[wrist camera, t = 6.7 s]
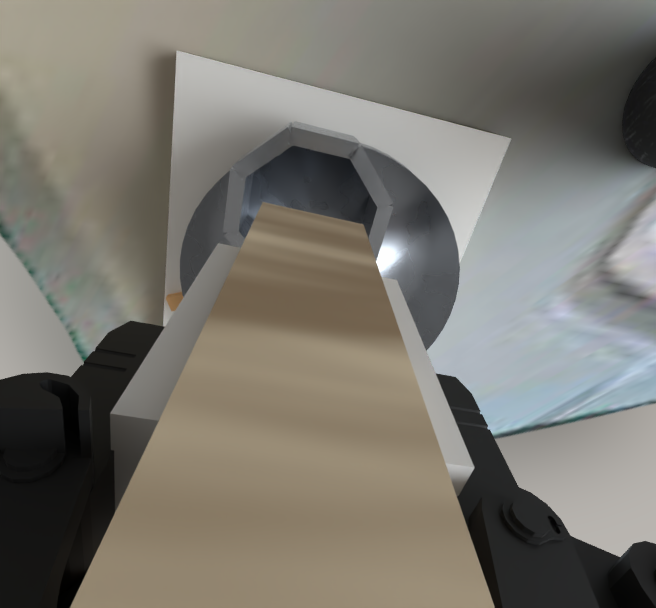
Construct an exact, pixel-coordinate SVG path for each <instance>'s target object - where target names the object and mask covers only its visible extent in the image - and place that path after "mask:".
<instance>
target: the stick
mask: <svg viewBox="0 0 656 608" xmlns="http://www.w3.org/2000/svg"><path fill="white" fill-rule="evenodd" d="M70 608H495V607H494V604H493V601H492V598H491V595H490V592H489V589H488V586H487V583H486V580H485V577H484V574H483V572H482V569H481V566H480V563H479V560H478V557H477V554H476V551H475V548H474V545H473V542H472V539H471V537H470V534H469V531H468V528H467V525H466V522H465V519H464V516H463V513H462V510H461V507H460V504H459V502H458V499H457V496H456V493H455V490H454V487H453V484H452V481H451V478H450V475H449V472H448V469H447V467H446V464H445V461H444V458H443V455H442V452H441V449H440V446H439V443H438V440H437V437H436V435H435V432H434V429H433V426H432V423H431V420H430V417H429V414H428V411H427V408H426V405H425V402H424V400H423V397H422V394H421V391H420V388H419V385H418V382H417V379H416V376H415V373H414V370H413V367H412V365H411V362H410V359H409V356H408V353H407V350H406V347H405V344H404V341H403V338H402V335H401V332H400V330H399V327H398V324H397V321H396V318H395V315H394V312H393V309H392V306H391V303H390V300H389V297H388V295H387V292H386V289H385V286H384V283H383V280H382V277H381V274H380V271H379V268H378V265H377V262H376V260H375V257H374V254H373V251H372V248H371V245H370V242H369V239H368V236H367V233H366V230H365V227H364V225H363V224H359V223H355V222H350V221H346V220H341V219H337V218H332V217H328V216H323V215H319V214H314V213H310V212H305V211H301V210H296V209H292V208H287V207H283V206H278V205H274V204H270V203H265V202H262V205H261V207H260V209H259V211H258V213H257V215H256V217H255V219H254V221H253V224H252V226H251V228H250V230H249V232H248V234H247V236H246V238H245V240H244V242H243V245H242V247H241V249H240V251H239V253H238V255H237V257H236V259H235V261H234V264H233V266H232V268H231V270H230V272H229V274H228V276H227V278H226V280H225V282H224V285H223V287H222V289H221V291H220V293H219V295H218V297H217V299H216V301H215V304H214V306H213V308H212V310H211V312H210V314H209V316H208V318H207V320H206V322H205V325H204V327H203V329H202V331H201V333H200V335H199V337H198V339H197V341H196V344H195V346H194V348H193V350H192V352H191V354H190V356H189V358H188V360H187V362H186V365H185V367H184V369H183V371H182V373H181V375H180V377H179V379H178V381H177V384H176V386H175V388H174V390H173V392H172V394H171V396H170V398H169V400H168V402H167V405H166V407H165V409H164V411H163V413H162V415H161V417H160V419H159V421H158V424H157V426H156V428H155V430H154V432H153V434H152V436H151V438H150V440H149V442H148V445H147V447H146V449H145V451H144V453H143V455H142V457H141V459H140V461H139V464H138V466H137V468H136V470H135V472H134V474H133V476H132V478H131V480H130V482H129V485H128V487H127V489H126V491H125V493H124V495H123V497H122V499H121V501H120V504H119V506H118V508H117V510H116V512H115V514H114V516H113V518H112V520H111V522H110V525H109V527H108V529H107V531H106V533H105V535H104V537H103V539H102V541H101V544H100V546H99V548H98V550H97V552H96V554H95V556H94V558H93V560H92V562H91V565H90V567H89V569H88V571H87V573H86V575H85V577H84V579H83V581H82V584H81V586H80V588H79V590H78V592H77V594H76V596H75V598H74V600H73V602H72V605H71V607H70Z"/></svg>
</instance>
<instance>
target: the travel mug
mask: <svg viewBox="0 0 656 608" xmlns="http://www.w3.org/2000/svg"><path fill="white" fill-rule="evenodd" d="M623 135H624V140H625V143H626V145H627V147H628V149H629V151H630V152H631V153H632V154H633V156H634V157H635V158H637V159H638V160H639V161H641V162H642V163H644V164H646V165H649V166H651V167H654V168H656V58H655V59H654V60H653V61H652V62H651V63H650V64H649V65H648V66H647V68H646V69H645V70H644V71H643V73H642V74H641V75H640V77H639V78H638V80H637V81H636V83H635V85H634V87H633V89H632V91H631V93H630V95H629V97H628V100H627V103H626V106H625V110H624V115H623Z"/></svg>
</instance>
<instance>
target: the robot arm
mask: <svg viewBox="0 0 656 608" xmlns="http://www.w3.org/2000/svg"><path fill="white" fill-rule="evenodd" d="M240 249H241V248H240V247H235V246H230V245H225V244H220V243H218V244H217V246H216V247H215V249H214V250H213V252H212V253H211V255H210V257H209V258H208V260H207V261H206V263H205V264H204V266H203V268H202V269H201V271H200V272H199V274H198V276H197V277H196V279H195V280H194V282H193V283H192V285H191V287H190V288H189V290H188V291H187V293H186V294H185V296H184V298H183V299H182V301H181V302H180V304H179V306H178V307H177V309H176V310H175V312H174V313H173V315H172V317H171V318H170V320H169V321H168V323H167V324H166V326H165V327H163V326H157V325H151V324H146V323H140V322H135V321H129V322H127V323H126V324H124V325H122V326H120V327H118V328H116V329H114V330H112V331H110V332H109V333H108V334H107V335H106V336H105V338H104V339H103V340H102V341H101V342H100V343H99V345H98V346H97V347H96V349H95V352H94V351H93V352H92V353H91V354H90V355H89V356H88V358H87V359H86V360H85V361H84V364H83V365H81V366H80V367H79V368H78V369H77V371H76V372H75V373H74V374H73V375H72V376H71V377H69V376H66V375H59V374H53V373H31V374H21V375H17V376H13V377H9V378H5V379H1V380H0V608H70V607H71V605H72V602H73V600H74V598H75V596H76V594H77V592H78V590H79V588H80V586H81V584H82V581H83V579H84V577H85V575H86V573H87V571H88V569H89V567H90V565H91V562H92V560H93V558H94V556H95V554H96V552H97V550H98V548H99V546H100V544H101V541H102V539H103V537H104V535H105V533H106V531H107V529H108V527H109V525H110V522H111V520H112V518H113V516H114V514H115V512H116V510H117V508H118V506H119V504H120V501H121V499H122V497H123V495H124V493H125V491H126V489H127V487H128V485H129V482H130V480H131V478H132V476H133V474H134V472H135V470H136V468H137V466H138V464H139V461H140V459H141V457H142V455H143V453H144V451H145V449H146V447H147V445H148V442H149V440H150V438H151V436H152V434H153V432H154V430H155V428H156V426H157V424H158V421H159V419H160V417H161V415H162V413H163V411H164V409H165V407H166V405H167V402H168V400H169V398H170V396H171V394H172V392H173V390H174V388H175V386H176V384H177V381H178V379H179V377H180V375H181V373H182V371H183V369H184V367H185V365H186V362H187V360H188V358H189V356H190V354H191V352H192V350H193V348H194V346H195V344H196V341H197V339H198V337H199V335H200V333H201V331H202V329H203V327H204V325H205V322H206V320H207V318H208V316H209V314H210V312H211V310H212V308H213V306H214V304H215V301H216V299H217V297H218V295H219V293H220V291H221V289H222V287H223V285H224V282H225V280H226V278H227V276H228V274H229V272H230V270H231V268H232V266H233V264H234V261H235V259H236V257H237V255H238V253H239V251H240ZM382 280H383V283H384V286H385V289H386V292H387V295H388V297H389V300H390V303H391V306H392V309H393V312H394V315H395V318H396V321H397V324H398V327H399V330H400V332H401V335H402V338H403V341H404V344H405V347H406V350H407V353H408V356H409V359H410V362H411V365H412V367H413V370H414V373H415V376H416V379H417V382H418V385H419V388H420V391H421V394H422V397H423V400H424V402H425V405H426V408H427V411H428V414H429V417H430V420H431V423H432V426H433V429H434V432H435V435H436V437H437V440H438V443H439V446H440V449H441V452H442V455H443V458H444V461H445V464H446V467H447V469H448V472H449V475H450V478H451V481H452V484H453V487H454V490H455V493H456V496H457V499H458V502H459V504H460V507H461V510H462V513H463V516H464V519H465V522H466V525H467V528H468V531H469V534H470V537H471V539H472V542H473V545H474V548H475V551H476V554H477V557H478V560H479V563H480V566H481V569H482V572H483V574H484V577H485V580H486V583H487V586H488V589H489V592H490V595H491V598H492V601H493V604H494V607H495V608H656V544H654V543H650V542H647V541H643V542H639V543H634V544H633V545H632V546H631V547H630V548H629V549H628V550H627V551H626V552H625V553H624V554H623V555H622V556H621V557H618V556H616V555H613V554H611V553H609V552H606V551H604V550H602V549H599V548H597V547H595V546H592V545H590V544H587V543H585V542H583V541H581V540H578V539H576V538H574V537H572V536H570V534H569V533H568V531H567V529H566V528H565V526H564V524H563V522H562V520H561V519H560V518H559V517H558V516H557V515H556V514H555V512H554V511H553V510H552V509H551V508H550V507H549V506H548V505H547V504H546V503H544V502H543V501H542V500H540V499H539V498H538V497H536V496H535V495H533V494H532V493H531V492H528V491H526V490H524V489H521V488H519V487H518V485H517V483H516V481H515V479H514V477H513V475H512V473H511V471H510V470H509V467H508V465H507V463H506V461H505V459H504V457H503V455H502V453H501V451H500V449H499V447H498V445H497V443H496V441H495V439H494V437H493V435H492V433H491V431H490V430H488V429H487V427H488V425H487V423H486V421H485V419H484V417H483V415H481V414H480V410H479V408H478V406H477V404H476V402H475V400H474V398H473V396H472V394H471V393H470V392H469V390H468V389H467V388H466V387H465V386H464V385H463V384H462V383H461V382H460V381H459V380H458V379H457V378H456V377H452V376H447V375H441V374H436V373H435V371H434V368H433V366H432V364H431V361H430V359H429V356H428V354H427V352H426V349H425V347H424V344H423V342H422V340H421V337H420V335H419V332H418V330H417V327H416V325H415V323H414V320H413V318H412V315H411V313H410V311H409V308H408V306H407V303H406V301H405V298H404V296H403V294H402V291H401V289H400V286H399V284H398V282H397V280H394V279H390V278H385V277H382Z"/></svg>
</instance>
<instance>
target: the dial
mask: <svg viewBox="0 0 656 608" xmlns="http://www.w3.org/2000/svg"><path fill="white" fill-rule="evenodd" d="M262 202H265V203H270V204H274V205H278V206H283V207H287V208H292V209H296V210H301V211H305V212H310V213H314V214H319V215H323V216H328V217H332V218H337V219H341V220H346V221H350V222H355V223H359V224H363V225H364V227H365V230H366V233H367V236H368V239H369V242H370V245H371V248H372V251H373V254H374V257H375V260H376V262H377V265H378V268H379V271H380V274H381V277H385V278H390V279H394V280H397V282H398V284H399V286H400V289H401V291H402V294H403V296H404V298H405V301H406V303H407V306H408V308H409V311H410V313H411V315H412V318H413V320H414V323H415V325H416V327H417V330H418V332H419V335H420V337H421V340H422V342H423V344H424V347H425V349H426V351H427V349H428V348H429V347H430V346H431V345H432V344H433V343H434V341H435V340H436V338H437V337H438V335H439V334H440V332H441V331H442V330H443V328H444V326H445V324H446V322H447V320H448V318H449V316H450V314H451V311H452V308H453V305H454V302H455V299H456V295H457V290H458V285H459V271H460V264H459V253H458V247H457V243H456V238H455V234H454V231H453V229H452V226H451V224H450V221H449V219H448V216H447V215H446V213H445V211H444V210H443V208H442V206H441V204H440V203H439V201H438V200H437V198H436V197H435V196H434V195H433V194H432V192H431V191H430V190H429V189H428V187H427V186H426V185H425V184H424V183H423V182H422V181H421V180H419V179H418V178H417V177H416V176H415V175H414V174H413V173H412V172H411V171H410V170H409V169H408V168H406V167H405V166H404V165H403V164H401V163H400V162H398V161H397V160H395V159H394V158H393V157H391V156H390V155H388V154H386V153H384V152H382V151H380V150H378V149H376V148H374V147H371V146H368V145H365V144H362V143H359V141H358V140H357V138H355V137H354V136H352V135H348V134H344V133H340V132H336V131H332V130H328V129H324V128H320V127H316V126H312V125H308V124H304V123H300V122H296V121H294V123H292V122H290V123H289V124H287V125H286V126H284V127H283V128H282V129H280V130H279V131H277V132H276V133H274V134H273V135H272V136H270V137H269V138H267V139H266V140H264V141H263V142H262V143H260V144H259V145H257V146H256V147H254V148H253V149H252V150H250V151H249V152H247V153H246V154H244V155H243V156H242V157H241V158H240V159H239V160H238V161H237V162H236V163H235V164H233V165H232V168H231V169H230V170H229V171H228V172H227V173H226V174H225V175H224V176H223V177H222V178H221V179H220V180H219V181H218V182H217V183H216V184H215V185H214V186H213V187H212V188H211V189H210V190H209V192H208V193H207V194H206V195H205V196H204V198H203V199H202V201H201V202H200V204H199V205H198V207H197V208H196V210H195V212H194V214H193V216H192V218H191V220H190V222H189V224H188V227H187V230H186V233H185V236H184V240H183V243H182V249H181V256H180V282H181V288H182V295H183V298H184V296H185V294H186V293H187V291H188V290H189V288H190V287H191V285H192V283H193V282H194V280H195V279H196V277H197V276H198V274H199V272H200V271H201V269H202V268H203V266H204V264H205V263H206V261H207V260H208V258H209V257H210V255H211V253H212V252H213V250H214V249H215V247H216V246H217V244H218V243H220V244H225V245H230V246H235V247H240V248H241V247H242V245H243V242H244V240H245V238H246V236H247V234H248V232H249V230H250V228H251V226H252V224H253V221H254V219H255V217H256V215H257V213H258V211H259V209H260V207H261V205H262Z"/></svg>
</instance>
